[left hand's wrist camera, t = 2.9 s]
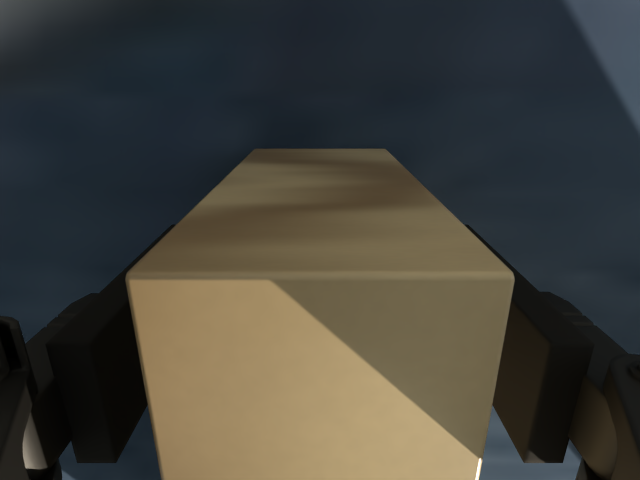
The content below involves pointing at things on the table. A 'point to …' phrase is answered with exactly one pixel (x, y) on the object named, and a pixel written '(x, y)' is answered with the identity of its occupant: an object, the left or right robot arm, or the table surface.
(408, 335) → the beam
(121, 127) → the table surface
